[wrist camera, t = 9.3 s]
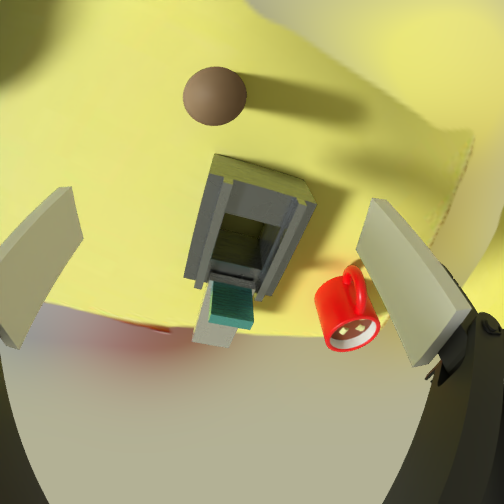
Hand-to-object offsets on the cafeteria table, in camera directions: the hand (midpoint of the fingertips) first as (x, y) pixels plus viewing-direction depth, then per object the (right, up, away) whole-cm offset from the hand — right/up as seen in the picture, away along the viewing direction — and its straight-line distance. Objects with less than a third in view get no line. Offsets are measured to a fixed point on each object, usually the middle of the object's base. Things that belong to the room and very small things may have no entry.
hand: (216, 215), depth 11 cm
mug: (+14, -6, +28) cm, 32 cm away
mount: (0, +3, +21) cm, 21 cm away
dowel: (-1, +14, +12) cm, 19 cm away
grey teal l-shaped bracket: (-2, -8, +21) cm, 23 cm away
